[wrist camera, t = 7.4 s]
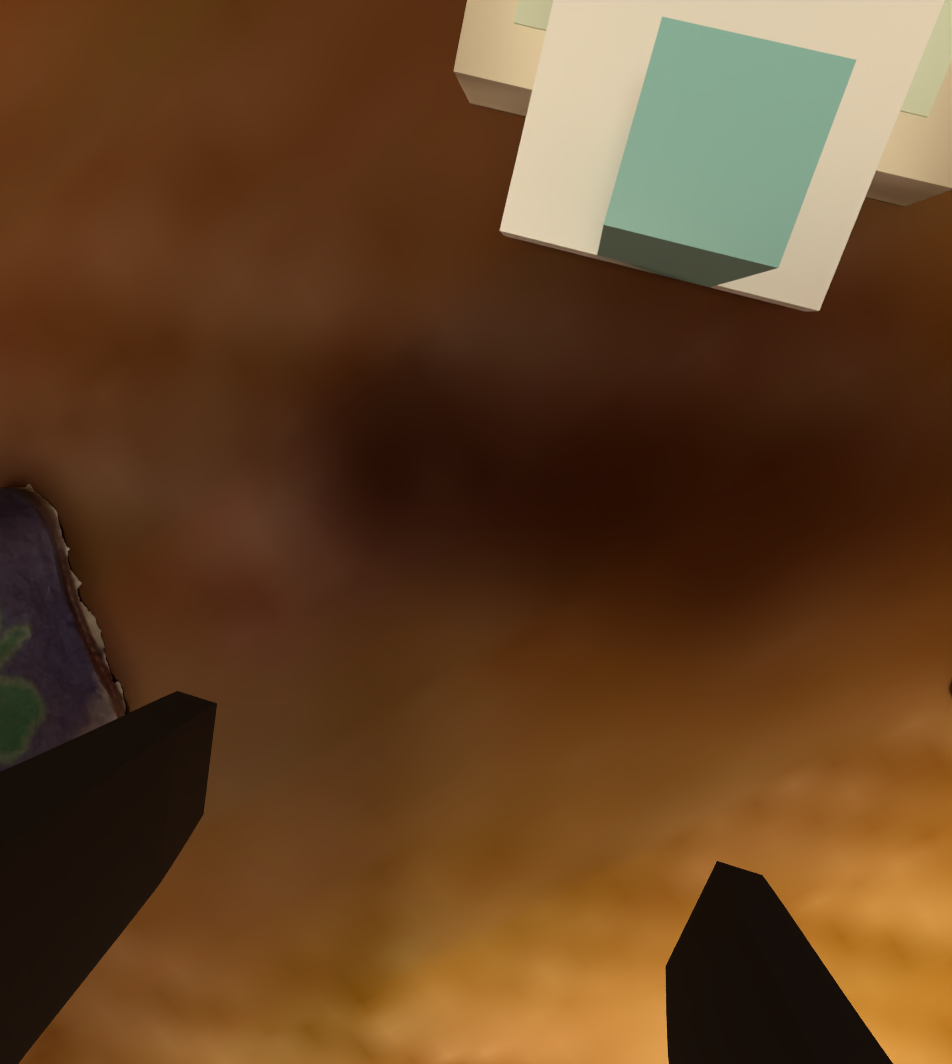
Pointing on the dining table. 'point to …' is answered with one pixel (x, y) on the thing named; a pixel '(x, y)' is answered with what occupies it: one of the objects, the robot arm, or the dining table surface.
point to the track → (905, 166)
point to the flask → (45, 638)
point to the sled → (713, 135)
